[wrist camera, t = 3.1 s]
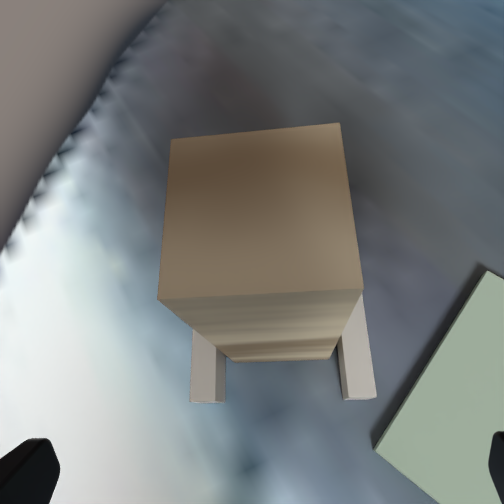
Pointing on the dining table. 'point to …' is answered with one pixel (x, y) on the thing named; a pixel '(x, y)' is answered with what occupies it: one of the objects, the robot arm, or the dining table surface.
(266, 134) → the block
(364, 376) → the channel
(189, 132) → the dining table surface
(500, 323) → the mat
